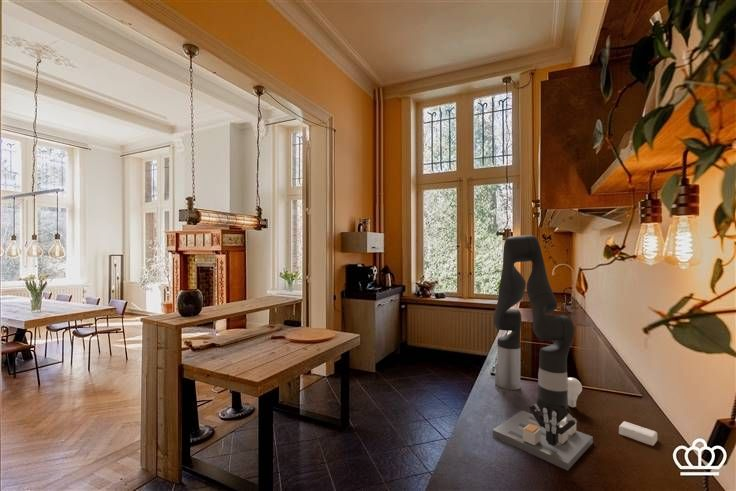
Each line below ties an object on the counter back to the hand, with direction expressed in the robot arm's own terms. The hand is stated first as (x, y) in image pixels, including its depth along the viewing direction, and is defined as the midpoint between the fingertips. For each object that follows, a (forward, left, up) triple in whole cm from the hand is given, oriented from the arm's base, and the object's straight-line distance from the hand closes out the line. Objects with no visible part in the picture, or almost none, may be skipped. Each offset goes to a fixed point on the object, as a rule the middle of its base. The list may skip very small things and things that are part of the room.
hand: (552, 444), depth 99 cm
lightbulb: (-8, +38, -4) cm, 39 cm away
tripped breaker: (-6, 0, -1) cm, 6 cm away
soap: (+13, +32, -4) cm, 35 cm away
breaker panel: (-6, +7, -4) cm, 10 cm away
